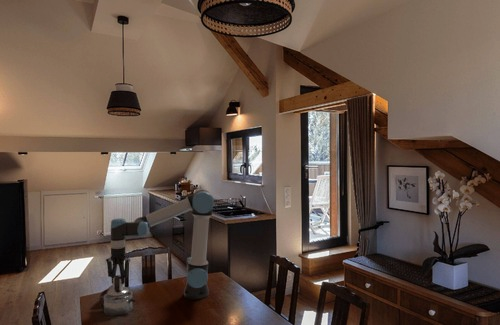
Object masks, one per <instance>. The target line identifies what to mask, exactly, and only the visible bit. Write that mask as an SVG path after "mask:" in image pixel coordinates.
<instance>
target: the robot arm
mask: <svg viewBox="0 0 500 325" xmlns="http://www.w3.org/2000/svg"><path fill="white" fill-rule="evenodd" d="M214 205H215V199H214V197H213V195H212V194H211V193H210V192H209V191H208V190H207V189H198V190H197V191H195V192H194V193H191V194H190V195H187V196H186V198H184V199H182V200H179V201H177V202H173V204H172V203H171V204H170V205H166V206H165V207H163V208H160V209H158V210H155V211H153V212H150V213H148V214H146V215H144V216H140V217H138V218H136V219H134V221H133V222H132V221H131V222H129V221H128V222H127V221H126V219H125V218H113V219H112V220H111V221H110V257H108V258H106V259H105V261H106V263H107V264H106V266H107V276H108V278H111V284H112V285H113V290H115V276H117V275H116V274H117V268H119V273H120V274H119V275H121V278H120V291H121V290H123V287H124V284H125V283H126V279H125V278H127V277H128V276H129V270H130V262H131V258H128V257H126V237H134V236H135V237H137V236H138V237H142V236H143V237H144V236H147V235H148V233H149V229H150V228H152V227H154V226H156V225H158V224H161V223H164V222H166V221H169V220H171V219H172V218H175V217H177V216H180V215H182V214H185V213H189V211H191V215H192V217H193V227H192V240H191V254H190V257H187V258H186V284H185V287H184V291H183V297H184V298H186V299H188V300H201V299H204V298H207V297H208V296H209V295H210V290H209V287H208V280H209V275H208V270H209V261H208V260H207V250H208V249H207V248H208V239H209V237H208V236H209V226H210V218H211V217H213V208H214Z"/></svg>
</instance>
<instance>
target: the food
mask: <svg viewBox="0 0 500 325" xmlns="http://www.w3.org/2000/svg"><path fill="white" fill-rule="evenodd" d="M110 289H113V284H112V285H110V286H109V287H108V288H105V289H104V290H103V291H102V292H101V293H100V295H99V297H101V296H104V295H106V294H107V292H108V290H110ZM99 302H100V303H101V304H102V305H103V306H104V300H99Z"/></svg>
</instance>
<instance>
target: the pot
mask: <svg viewBox="0 0 500 325" xmlns="http://www.w3.org/2000/svg"><path fill="white" fill-rule="evenodd" d="M100 300H104V305H103V312H104V313H103V314H105V315H107V316H113V317H114V316H116V317H117V316H122V315H125V314H127V313H130V312H131V311H132V310H133V303H136V302H137V301H138V297H133V291H132V290H129V292H128V293H127V294H125V295H122V296H109V295H108V294H106V295H104V296H101V297H100V296H99V301H100Z"/></svg>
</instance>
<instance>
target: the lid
mask: <svg viewBox="0 0 500 325" xmlns="http://www.w3.org/2000/svg"><path fill="white" fill-rule="evenodd" d="M120 278H121V275H120V274H119V275H118V274H117V275H116V276H115V290H113V289H110V290H108V292H107V294H108V295H109V296H122V295H125V294H127V293H128V292H129V291H130V289H129V288H128V287H126V286H123V290H121V291H120Z"/></svg>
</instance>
